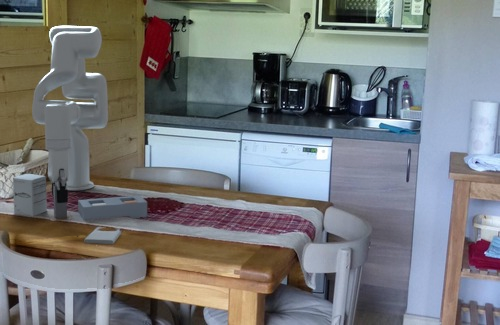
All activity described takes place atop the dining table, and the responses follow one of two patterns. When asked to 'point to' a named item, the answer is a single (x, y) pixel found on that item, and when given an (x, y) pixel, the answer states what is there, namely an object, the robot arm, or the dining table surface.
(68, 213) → the grey flat plate
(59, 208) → the plug
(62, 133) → the robot arm
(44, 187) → the supplement box
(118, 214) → the socket block
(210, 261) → the dining table surface
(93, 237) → the external hard drive
